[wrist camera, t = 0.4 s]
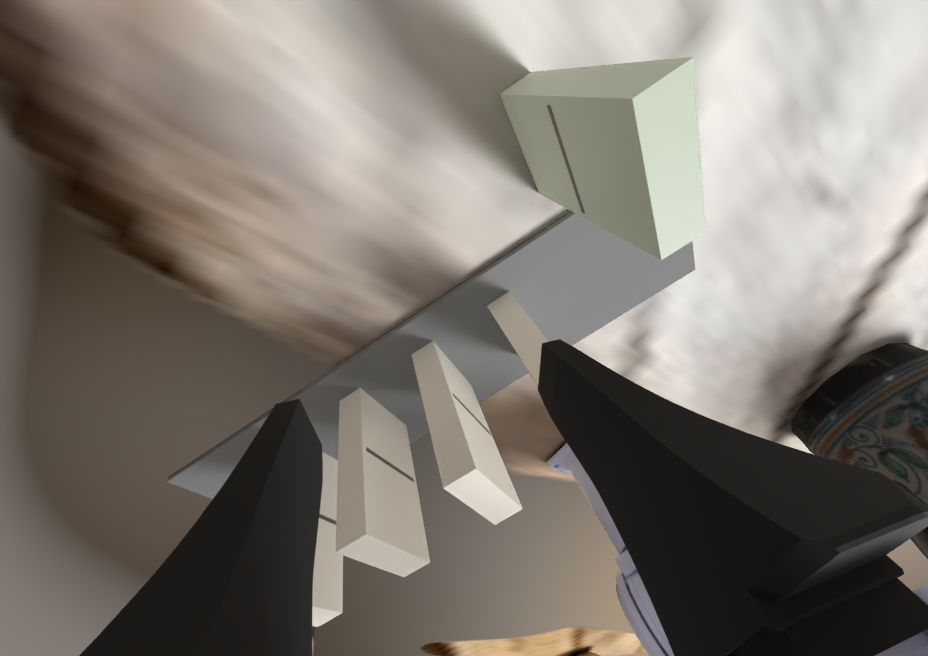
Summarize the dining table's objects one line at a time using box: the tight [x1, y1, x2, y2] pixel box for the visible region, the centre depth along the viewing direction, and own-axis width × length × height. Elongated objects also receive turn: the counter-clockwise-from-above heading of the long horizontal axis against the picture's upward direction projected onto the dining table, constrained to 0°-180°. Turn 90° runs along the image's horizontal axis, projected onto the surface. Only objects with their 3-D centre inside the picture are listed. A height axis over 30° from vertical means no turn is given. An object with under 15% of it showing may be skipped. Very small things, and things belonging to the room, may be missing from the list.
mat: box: [167, 212, 695, 499], centre depth 23 cm, size 36×9×1 cm, turn 120°
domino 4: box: [487, 291, 549, 386], centre depth 19 cm, size 2×5×9 cm, turn 30°
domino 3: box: [412, 341, 522, 525], centre depth 19 cm, size 2×5×9 cm, turn 29°
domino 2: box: [335, 388, 430, 577], centre depth 20 cm, size 2×5×9 cm, turn 30°
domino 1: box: [312, 452, 343, 627], centre depth 20 cm, size 2×5×9 cm, turn 30°
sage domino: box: [500, 57, 706, 260], centre depth 13 cm, size 2×5×9 cm, turn 29°
